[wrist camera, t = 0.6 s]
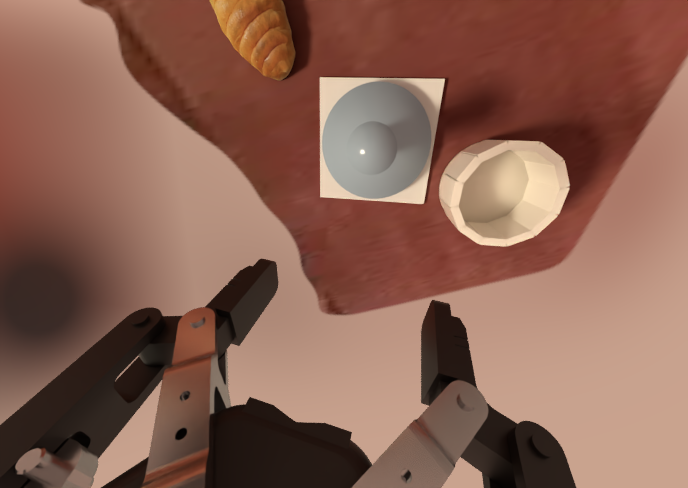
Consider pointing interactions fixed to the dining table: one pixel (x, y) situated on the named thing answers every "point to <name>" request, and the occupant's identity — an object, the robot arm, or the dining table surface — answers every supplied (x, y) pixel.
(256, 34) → the pastry
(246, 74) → the dining table surface
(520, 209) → the cup
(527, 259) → the dining table surface
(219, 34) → the dining table surface
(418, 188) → the mat
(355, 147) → the lid
